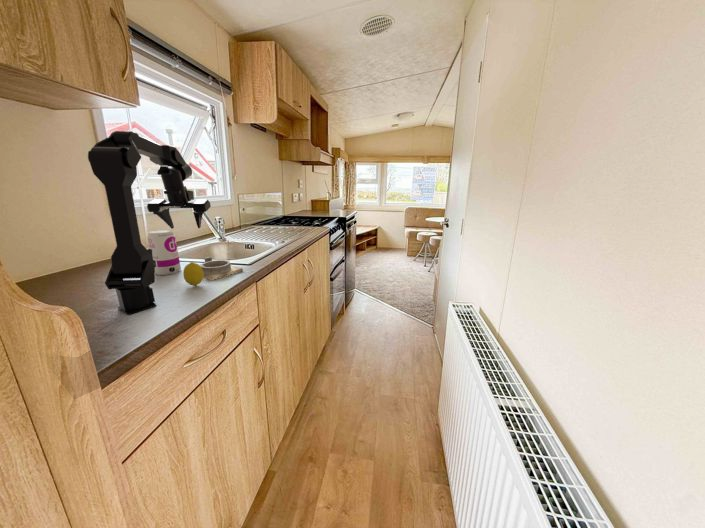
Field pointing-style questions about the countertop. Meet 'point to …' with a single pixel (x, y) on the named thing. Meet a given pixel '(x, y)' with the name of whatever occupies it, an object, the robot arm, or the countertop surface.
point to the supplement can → (164, 251)
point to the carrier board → (233, 270)
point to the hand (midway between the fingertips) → (186, 228)
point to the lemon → (193, 274)
